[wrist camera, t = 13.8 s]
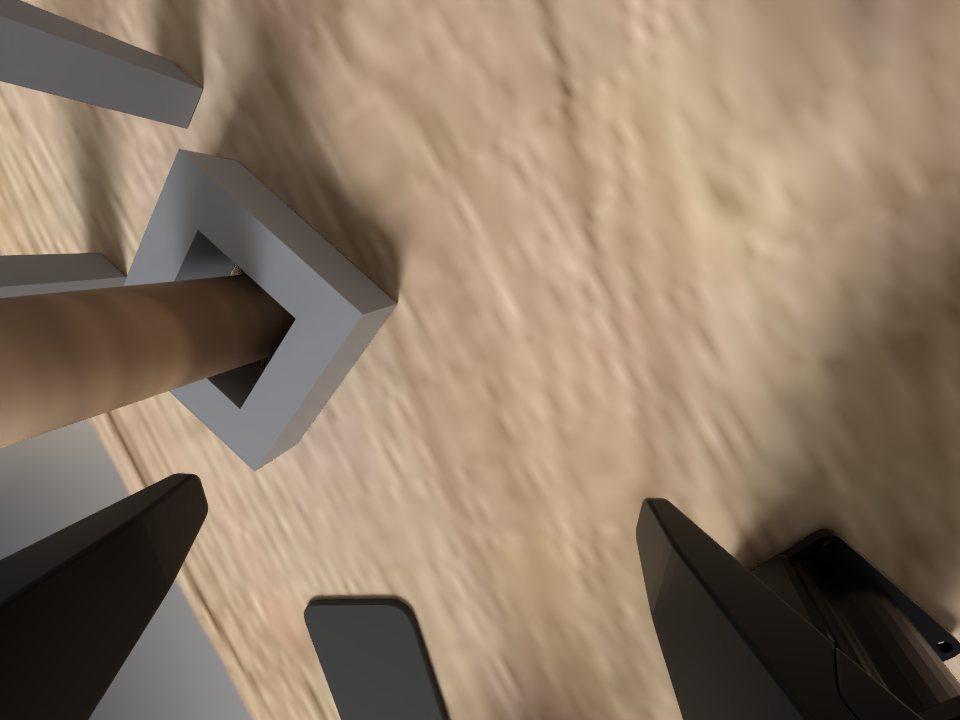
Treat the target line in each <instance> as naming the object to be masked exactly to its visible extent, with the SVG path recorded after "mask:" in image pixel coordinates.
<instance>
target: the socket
mask: <svg viewBox="0 0 960 720" xmlns="http://www.w3.org/2000/svg"><path fill="white" fill-rule="evenodd" d="M235 264H236V265H237V266H239V267H240V268H241V269H242V270H243V271H244V272H245V273H246V274H247V275H248V276H250V277H251V278H252V279H253V280H254V281H255V282H256V283H257V284H258V285H259V286H261V287H262V288H263V289H264V290H265V291H266V292H267V293H268V294H269V295H270V296H272V297H273V298H274V299H275V300H276V301H277V302H278V303H279V304H280V305H281V306H282V307H284V308H285V309H286V310H287V311H288V312H289V313H290V314H291V315H292V316H293V317H295V318H296V320H295V321H294V323H293V324H292V326H291V328H290V329H289V331H288V333H287V334H286V336H285V337H284V339H283V341H282V342H281V344H280V346H279V347H278V349H277V350H276V352H275V354H274V355H273V357H272V359H271V360H270V362H269V363H268V365H267V367H266V368H265V370H264V369H263V368H262V367H261V366H259V365H258V364H257V363H256V362H252V363H249V364H246V365H243V366H241V367H238V368H235V369H232V370H229V371H226V372H223V373H220V374H217V375H214V376H211V377H208V378H205V379H202V380H199V381H196V382H194V383H191V384H188V385H185V386H182V387H179V388H176V389H173V390H170V391H169V392H170V393H171V394H173V395H174V396H175V397H176V398H177V399H178V400H179V401H180V402H181V403H182V404H183V405H184V406H185V407H186V408H187V409H189V410H190V411H191V412H192V413H193V414H194V415H195V416H196V417H197V418H198V419H199V420H200V421H201V422H202V423H203V424H205V425H206V426H207V427H208V428H209V429H210V430H211V431H212V432H213V433H214V434H215V435H216V436H217V437H218V438H220V439H221V440H222V441H223V442H224V443H225V444H226V445H227V446H228V447H229V448H230V449H231V450H232V451H233V452H234V453H236V454H237V455H238V456H239V457H240V458H241V459H242V460H243V461H244V462H245V463H246V464H247V465H248V466H249V467H250V468H252V469H253V470H254V471H256V470H258V469H259V468H261V467H263V466H264V465H266V464H267V463H269V462H270V461H272V460H273V459H275V458H277V457H278V456H280V455H281V454H283V453H284V452H286V451H287V450H289V449H290V448H292V447H294V446H295V445H297V443H298V442H299V440H300V439H301V438H302V436H303V435H304V433H305V432H306V431H307V429H308V428H309V426H310V425H311V424H312V422H313V421H314V420H315V418H316V417H317V415H318V414H319V413H320V411H321V410H322V408H323V407H324V406H325V404H326V403H327V401H328V400H329V399H330V397H331V396H332V394H333V393H334V392H335V390H336V389H337V387H338V386H339V385H340V383H341V382H342V381H343V379H344V378H345V376H346V375H347V374H348V372H349V371H350V369H351V368H352V367H353V365H354V364H355V362H356V361H357V360H358V358H359V357H360V355H361V354H362V353H363V351H364V350H365V348H366V347H367V346H368V344H369V343H370V342H371V340H372V339H373V337H374V336H375V335H376V333H377V332H378V330H379V329H380V328H381V326H382V325H383V323H384V322H385V321H386V319H387V318H388V316H389V315H390V314H391V312H392V311H393V309H394V308H395V307H396V305H397V303H396V302H394V301H393V300H392V299H391V298H390V297H389V296H388V295H387V294H386V293H384V292H383V291H382V290H381V289H380V288H379V287H378V286H377V285H375V284H374V283H373V282H372V281H371V280H370V279H369V278H368V277H367V276H365V275H364V274H363V273H362V272H361V271H360V270H359V269H358V268H356V267H355V266H354V265H353V264H352V263H351V262H350V261H349V260H348V259H346V258H345V257H344V256H343V255H342V254H341V253H340V252H339V251H338V250H336V249H335V248H334V247H333V246H332V245H331V244H330V243H329V242H327V241H326V240H325V239H324V238H323V237H322V236H321V235H320V234H319V233H317V232H316V231H315V230H314V229H313V228H312V227H311V226H310V225H309V224H307V223H306V222H305V221H304V220H303V219H302V218H301V217H300V216H298V215H297V214H296V213H295V212H294V211H293V210H292V209H291V208H290V207H288V206H287V205H286V204H285V203H284V202H283V201H282V200H281V199H279V198H278V197H277V196H276V195H275V194H274V193H273V192H272V191H271V190H269V189H268V188H267V187H266V186H265V185H264V184H263V183H262V182H261V181H259V180H258V179H257V178H256V177H255V176H254V175H253V174H252V173H250V172H249V171H248V170H247V169H246V168H245V167H244V166H243V165H242V164H240V163H239V162H238V161H236V160H231V159H226V158H221V157H216V156H211V155H207V154H202V153H197V152H192V151H187V150H182V149H179V150H178V153H177V155H176V157H175V160H174V162H173V165H172V167H171V170H170V172H169V175H168V177H167V179H166V182H165V184H164V187H163V189H162V192H161V194H160V197H159V199H158V202H157V204H156V206H155V209H154V211H153V214H152V216H151V219H150V221H149V224H148V226H147V229H146V231H145V233H144V236H143V238H142V241H141V243H140V246H139V248H138V251H137V253H136V256H135V258H134V260H133V263H132V265H131V268H130V270H129V273H128V275H127V278H126V280H125V283H124V285H123V286H130V285H141V284H151V283H161V282H172V281H182V280H192V279H203V278H213V277H223V276H229V274H230V272H231V270H232V268H233V267H234V265H235Z"/></svg>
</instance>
